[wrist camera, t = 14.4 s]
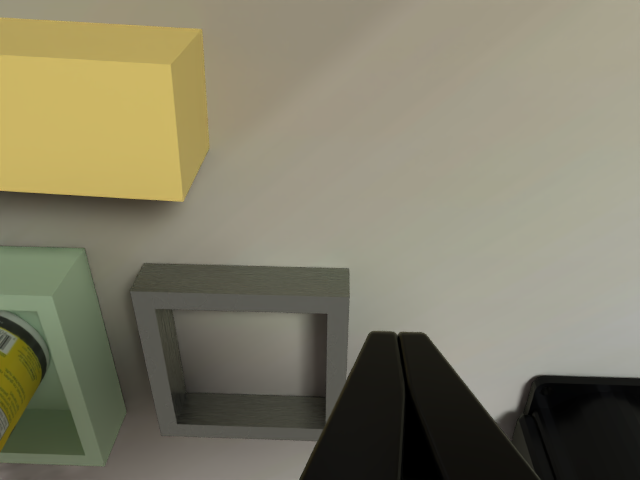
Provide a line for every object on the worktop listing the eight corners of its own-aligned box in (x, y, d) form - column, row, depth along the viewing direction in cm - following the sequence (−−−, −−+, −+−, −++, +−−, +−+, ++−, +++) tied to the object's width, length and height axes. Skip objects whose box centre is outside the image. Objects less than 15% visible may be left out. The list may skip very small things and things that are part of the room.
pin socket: (349, 268, 23) (349, 297, 21) (343, 409, 27) (343, 441, 26) (144, 263, 23) (130, 291, 22) (171, 404, 27) (161, 435, 26)
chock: (203, 27, 18) (170, 65, 15) (210, 146, 20) (183, 201, 17) (-19, 15, 18) (-102, 48, 15) (11, 134, 20) (-55, 187, 17)
